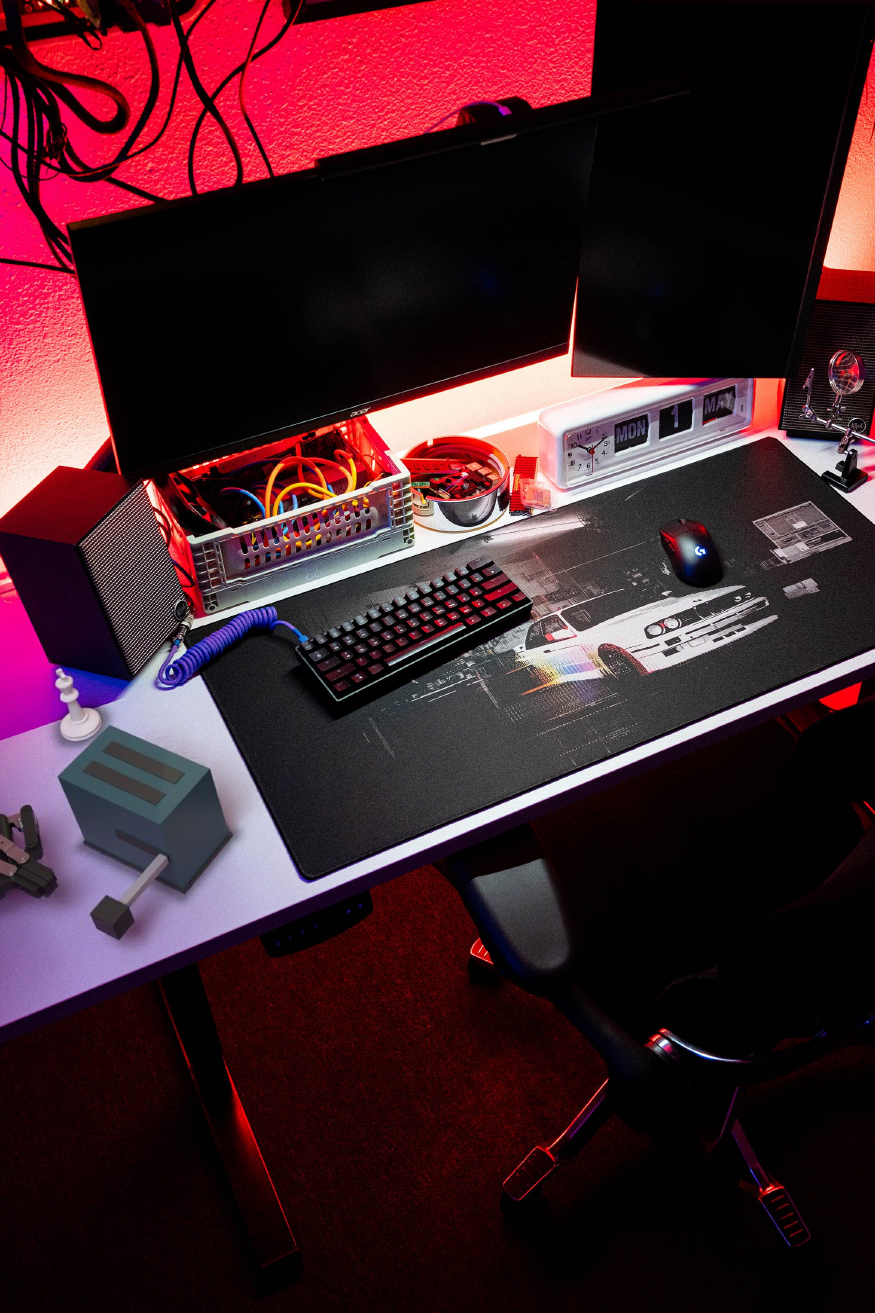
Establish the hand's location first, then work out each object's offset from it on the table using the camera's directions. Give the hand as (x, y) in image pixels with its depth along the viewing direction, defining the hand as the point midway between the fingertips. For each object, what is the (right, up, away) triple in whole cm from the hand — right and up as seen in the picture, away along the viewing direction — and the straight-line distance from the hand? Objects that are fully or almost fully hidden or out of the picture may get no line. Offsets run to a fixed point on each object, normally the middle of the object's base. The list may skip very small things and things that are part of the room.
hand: (51, 887), depth 116 cm
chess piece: (-6, +12, +25) cm, 29 cm away
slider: (+9, -1, +1) cm, 9 cm away
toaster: (+7, +2, +12) cm, 14 cm away
